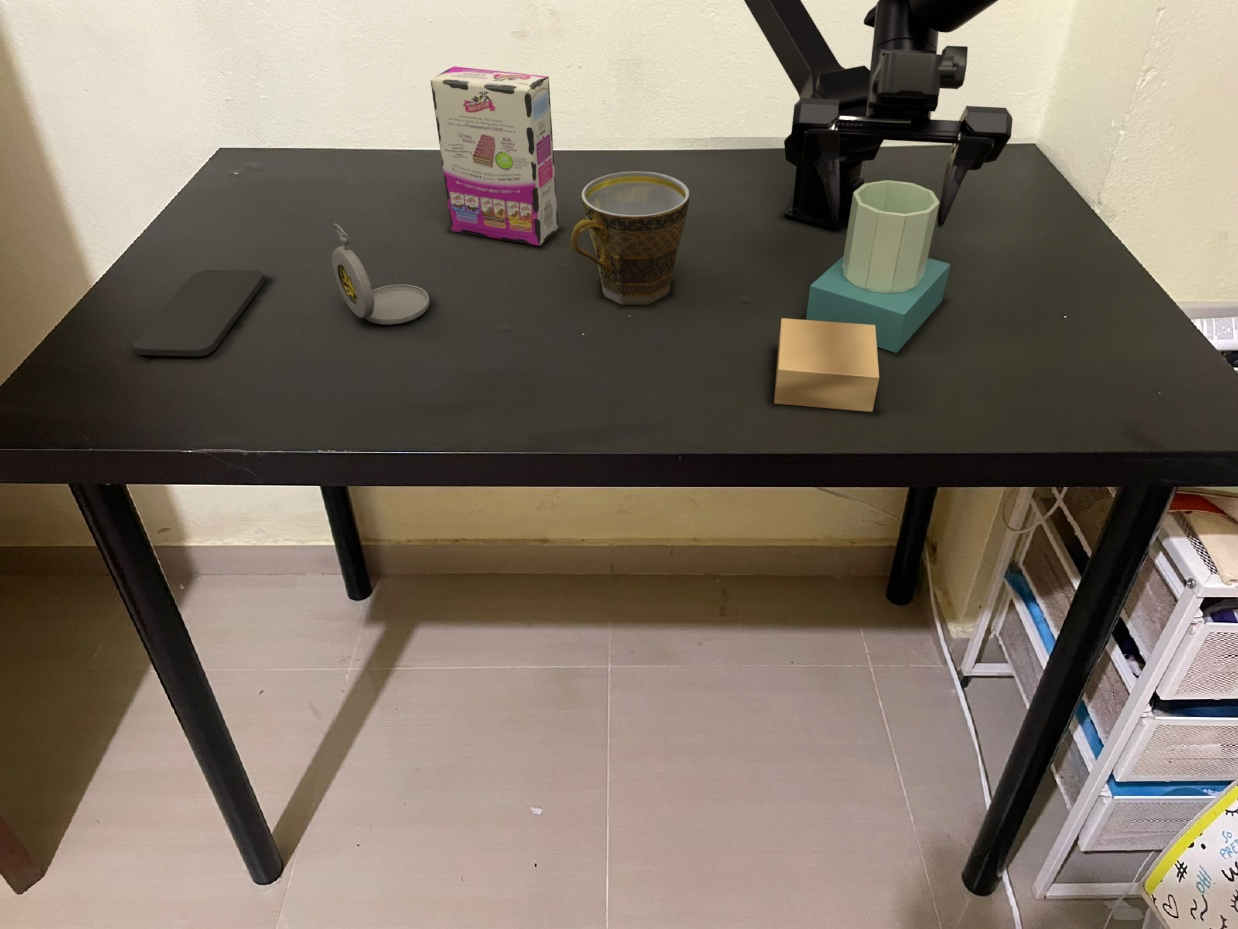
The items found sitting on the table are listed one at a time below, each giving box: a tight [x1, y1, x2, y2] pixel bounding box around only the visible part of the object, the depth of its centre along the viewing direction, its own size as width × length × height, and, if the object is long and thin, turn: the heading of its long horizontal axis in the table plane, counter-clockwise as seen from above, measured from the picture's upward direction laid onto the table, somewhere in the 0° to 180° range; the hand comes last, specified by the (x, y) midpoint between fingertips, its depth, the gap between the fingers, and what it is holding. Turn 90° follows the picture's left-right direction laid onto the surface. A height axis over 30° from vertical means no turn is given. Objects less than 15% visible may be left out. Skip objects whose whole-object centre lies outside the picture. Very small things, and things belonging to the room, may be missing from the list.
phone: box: [132, 269, 266, 357], centre depth 90 cm, size 7×1×15 cm
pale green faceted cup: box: [842, 179, 940, 293], centre depth 84 cm, size 7×7×8 cm
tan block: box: [773, 317, 880, 413], centre depth 80 cm, size 8×8×4 cm
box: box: [805, 255, 951, 354], centre depth 88 cm, size 9×11×4 cm
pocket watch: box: [331, 222, 430, 326], centre depth 87 cm, size 8×8×10 cm
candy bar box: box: [430, 66, 559, 247], centre depth 98 cm, size 11×5×16 cm, turn 68°
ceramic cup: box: [570, 171, 691, 306], centre depth 89 cm, size 13×10×10 cm
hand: (887, 222), depth 84 cm, fingers open, 9 cm apart
